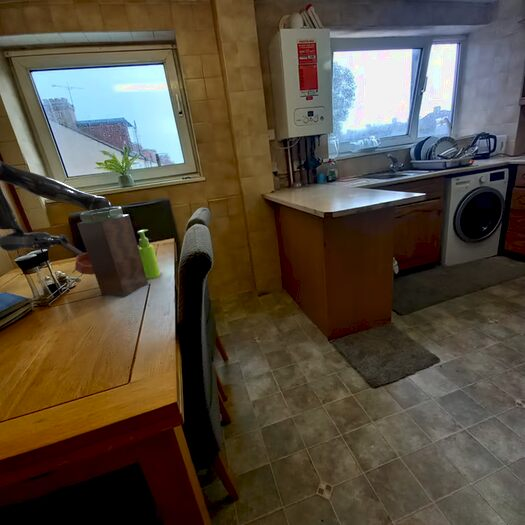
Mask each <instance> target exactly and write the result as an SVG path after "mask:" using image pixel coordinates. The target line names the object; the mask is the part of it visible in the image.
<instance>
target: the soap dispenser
mask: <svg viewBox="0 0 525 525" xmlns="http://www.w3.org/2000/svg"><path fill="white" fill-rule="evenodd" d="M147 231H148V232H149V229H147V228H146V229H140V230H138V231H137V234H138V235H139V236H140V238H139V239H138V242H139V243H140V245H141V247H140V245H139V246H138V249H139V252H140V256H141V260H142V263H143V267H144V270H145V274H146V278H147V280H151V279H156V278H158V277H160V276H161V272H160V267H159V263H158V260H157V256H156V252H155V247H154V245H153V244H150V242H149V241H150V240H148V239H149V238H148V237H146V235H145V232H147Z"/></svg>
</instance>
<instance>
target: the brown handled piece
mask: <svg viewBox="0 0 525 525" xmlns="http://www.w3.org/2000/svg"><path fill="white" fill-rule="evenodd" d="M58 239H60V238H58ZM61 240H62V239H61ZM62 242H63V245H60V246H61V247H62V248H63V249H65V250H67V251H68V252H70V253H72V254H73V255H75V256H76V258H75V264H74V265H75V266H74V270H75V271H77V272H79V273H80V274H82V275H95V274H94V271H93V268H92V265H91V262H90V259H89V257H88V254H87V252H82V251H81V250H79V249H78V248H76V247H75V246H73V245H71V244H70V243H67V242H65V241H64V240H62Z"/></svg>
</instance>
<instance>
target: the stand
mask: <svg viewBox="0 0 525 525" xmlns="http://www.w3.org/2000/svg"><path fill="white" fill-rule="evenodd" d="M110 209H111V210H110ZM79 218H80V221H79V222H77V223H76V224H77V227H78V231H79V233H80V236H81V239H82V243H83V245H84V247H85V250H86V253H87V254H88V257H89V259H90V262H91V265H92V268H93V271H94V274H93V275H94V276H95V279H96V282H97V285H98V288H99V291H100V293H101V294H100V295H101V296H109V297H110V296H111V297H122V298H126V297H127V296H129V295H131V294H132V293H134V292H136V291H138V290H139V289H141V288H143V287H144V286H146V285H148V284H149V281H148V279H147V278H146V274H145V270H144V267H143V263H142V260H141V256H140V252H139V249H138V248H139V244H138V242H137V238H136V235H135V231H134V227H133V224H132V220H131V216H130V214H124V213H123V209H122V206H112V207H110V208H103V209H96V211H95V210H91V211H88V210H86V211H83V212H80V213H79Z"/></svg>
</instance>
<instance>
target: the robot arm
mask: <svg viewBox="0 0 525 525" xmlns="http://www.w3.org/2000/svg"><path fill="white" fill-rule="evenodd" d="M0 182H3V183H6V184H7V183H8V184H10V185H14V186H16V187H18V188H20V189H22V190H24V191H26V192H28V193H30V194H32V195H34V196H37V197H40V198H43V199H46V200H49V201H53V202H57V203H61V204H62V203H63V204H65V205H71V206H75V207H79V208H80V209H83V210H86V211H91V210H95V211H96V209H103V208H110V207H113V206H112V203H111V202H110V200H108V199H107V198H106V197H103V196H99V195H94V194H90V193H86V192H83V191H80V190H78V189H75V188H73V187H72V186H70V185H68V184H66V183H63V182H61V181H58V180H56V179H53V178H51V177H47V176H45V175H41V174H39V173H34V172H32V171H28V170H24V169H21V168H17V167H16V166H13V165H10V164H9V163H5V162H3V161H1V160H0ZM110 210H111V209H110ZM0 230H3V231H4V230H11V231H12V232H10V233H6V234H4V235H1V236H0V248H1V249H2V250H4V251H6V252H7V251H8V252H14V251H20V250H31V251H39V250H38V249H40V248H41V249H47V250H49V249H51V248H52V247H55V246H61V245H63V242H62V240H64V241H65V242H67V243H68V244H70V240H69V238H68V237H66V234H64V233H61V234H60V235H51V234H50V233H48V232H45V231H32V232H25V230H24V229H23V228H22V227H21V225H20V224H19V222H18V221H17V217H16V215H15V213H14V210H13V208H12V206H11V204H10V203H9V201H8V199H7V197H6V196H5V193H4V192H3V190H2V187H1V185H0ZM58 238H60V239H58ZM61 239H62V240H61ZM148 241H153V239H151V238H148ZM138 246H139V247H141V245H140V242H139V243H138Z"/></svg>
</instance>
